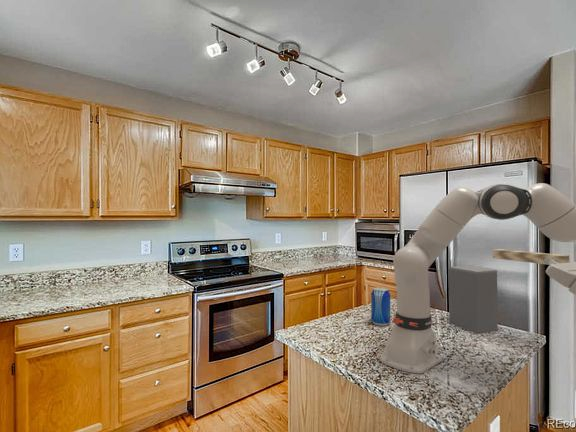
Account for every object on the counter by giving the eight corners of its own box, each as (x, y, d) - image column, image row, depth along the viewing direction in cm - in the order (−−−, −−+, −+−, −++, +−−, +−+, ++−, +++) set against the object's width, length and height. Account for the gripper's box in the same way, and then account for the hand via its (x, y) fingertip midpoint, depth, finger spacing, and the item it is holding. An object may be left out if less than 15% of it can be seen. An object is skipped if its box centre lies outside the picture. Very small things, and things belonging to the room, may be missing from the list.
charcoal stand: (497, 330, 132) (497, 270, 132) (477, 333, 128) (477, 271, 128) (468, 320, 145) (468, 265, 145) (449, 323, 141) (449, 266, 141)
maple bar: (569, 265, 104) (569, 255, 104) (562, 266, 103) (562, 255, 103) (499, 257, 127) (499, 249, 127) (492, 258, 126) (492, 249, 126)
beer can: (374, 319, 146) (374, 286, 146) (392, 322, 142) (392, 288, 142) (369, 324, 139) (369, 289, 139) (388, 328, 135) (387, 291, 135)
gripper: (620, 274, 99) (574, 249, 110) (582, 278, 92) (537, 251, 103) (607, 289, 102) (564, 263, 113) (570, 294, 94) (527, 266, 106)
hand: (551, 257), depth 108 cm, fingers closed on maple bar, 4 cm apart
